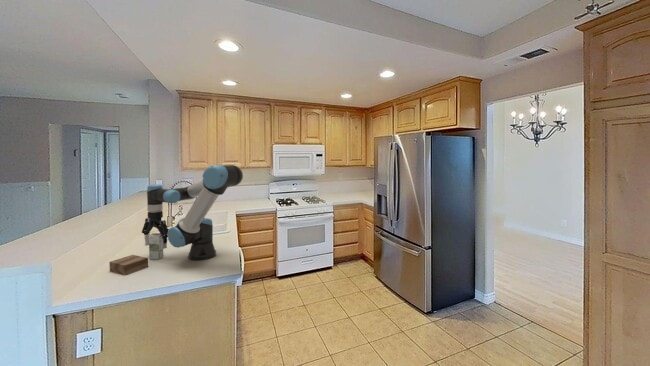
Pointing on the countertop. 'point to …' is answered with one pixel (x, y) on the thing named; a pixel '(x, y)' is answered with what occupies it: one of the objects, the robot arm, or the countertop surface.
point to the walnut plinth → (128, 264)
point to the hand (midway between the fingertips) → (155, 246)
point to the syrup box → (155, 246)
